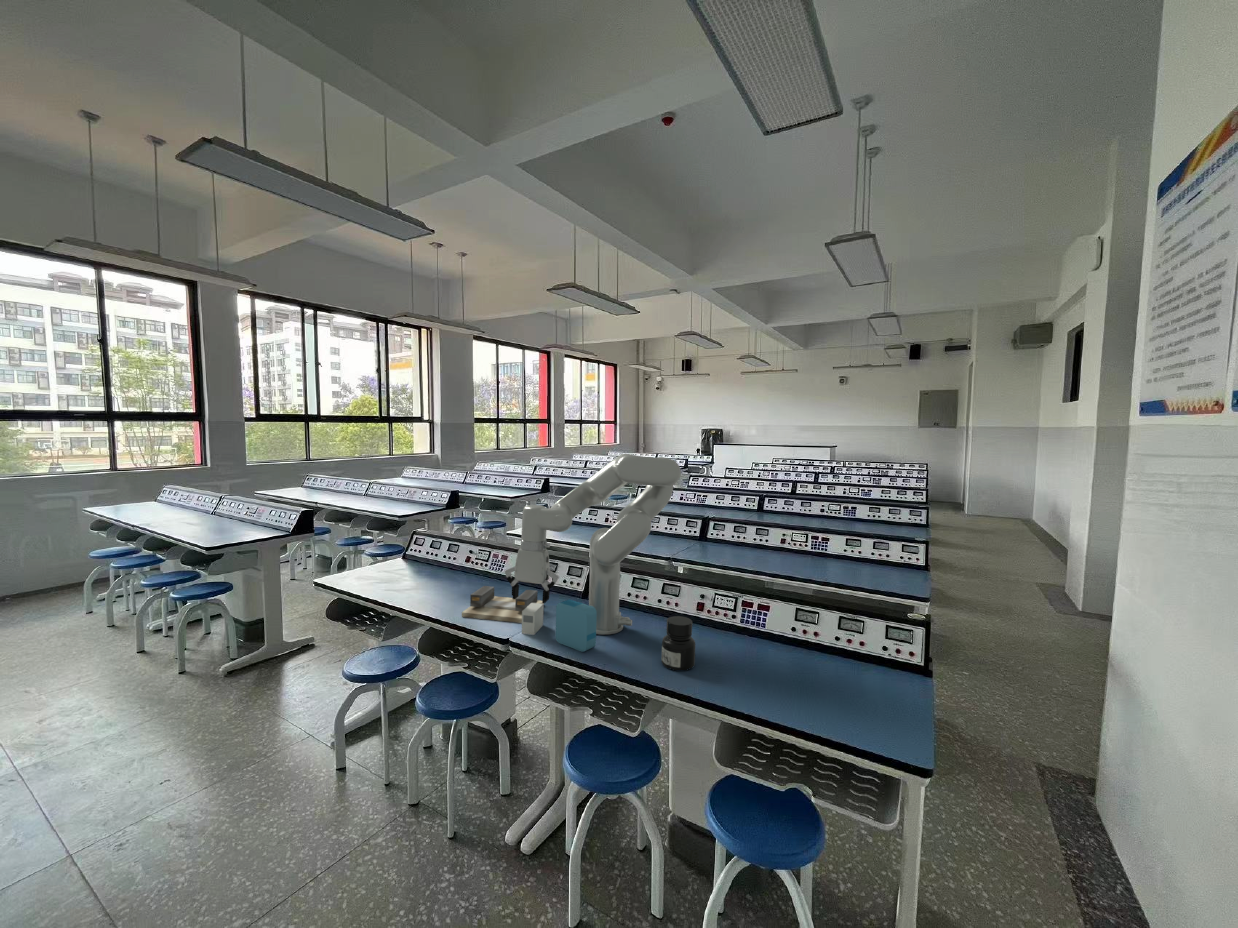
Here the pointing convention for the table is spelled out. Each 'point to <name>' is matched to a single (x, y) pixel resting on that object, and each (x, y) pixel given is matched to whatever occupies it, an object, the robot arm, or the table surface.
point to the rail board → (499, 605)
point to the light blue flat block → (576, 625)
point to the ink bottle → (678, 644)
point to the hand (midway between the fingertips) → (530, 599)
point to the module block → (532, 618)
